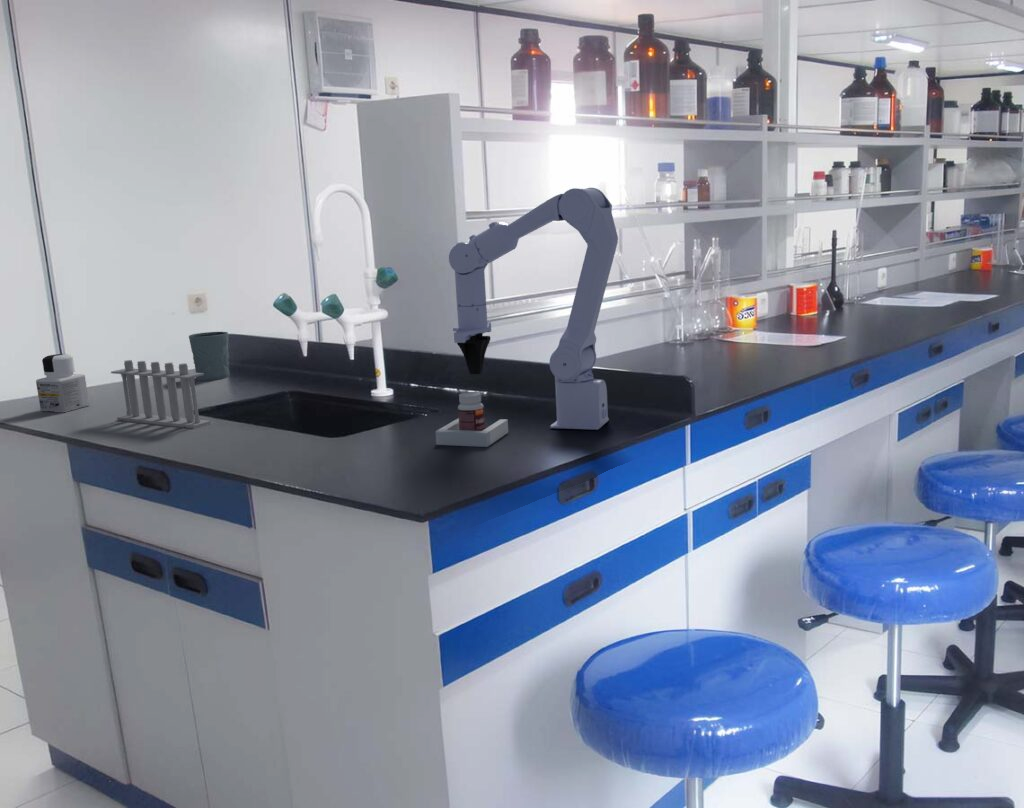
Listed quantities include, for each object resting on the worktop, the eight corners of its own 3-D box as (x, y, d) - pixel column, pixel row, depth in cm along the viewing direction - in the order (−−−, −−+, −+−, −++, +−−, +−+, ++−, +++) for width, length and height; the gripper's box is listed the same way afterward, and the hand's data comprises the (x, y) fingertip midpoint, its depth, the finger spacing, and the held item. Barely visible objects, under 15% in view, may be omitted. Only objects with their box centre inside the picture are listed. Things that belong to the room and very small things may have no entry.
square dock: (508, 432, 178) (507, 419, 177) (487, 446, 168) (486, 433, 168) (459, 430, 181) (458, 418, 181) (436, 444, 172) (435, 431, 171)
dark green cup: (187, 381, 254) (181, 337, 251) (205, 374, 264) (200, 331, 261) (222, 380, 252) (217, 335, 250) (239, 373, 262) (234, 330, 259)
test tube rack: (210, 424, 200) (203, 362, 197) (194, 429, 197) (186, 366, 194) (134, 416, 213) (126, 358, 210) (117, 420, 209) (108, 361, 207)
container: (40, 411, 224) (31, 357, 221) (66, 404, 231) (57, 352, 228) (64, 412, 221) (55, 357, 218) (90, 405, 228) (82, 352, 225)
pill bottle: (481, 441, 172) (478, 396, 170) (456, 441, 173) (453, 396, 172) (488, 435, 177) (486, 391, 175) (464, 435, 178) (461, 391, 176)
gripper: (466, 300, 192) (470, 366, 195) (437, 309, 179) (442, 380, 182) (499, 300, 190) (502, 367, 192) (472, 309, 176) (476, 380, 179)
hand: (475, 373), depth 187 cm, fingers closed
